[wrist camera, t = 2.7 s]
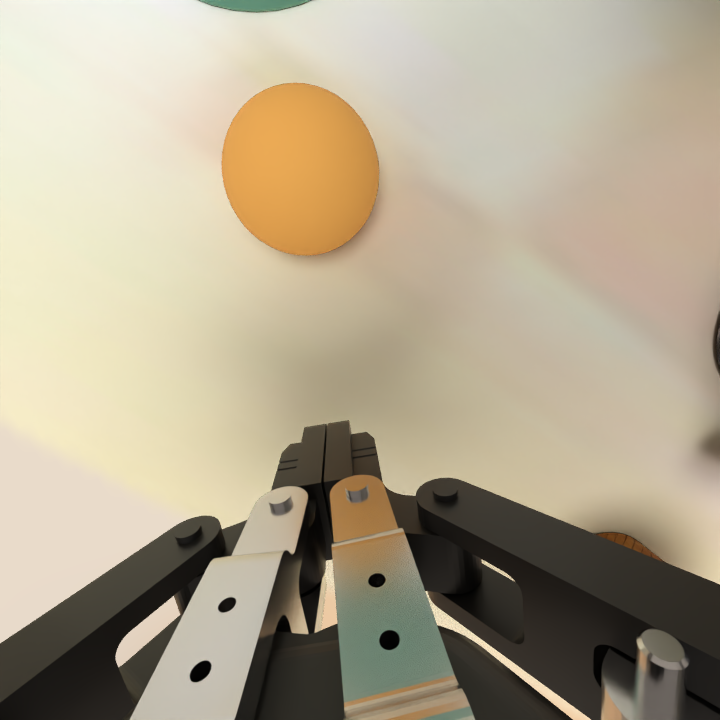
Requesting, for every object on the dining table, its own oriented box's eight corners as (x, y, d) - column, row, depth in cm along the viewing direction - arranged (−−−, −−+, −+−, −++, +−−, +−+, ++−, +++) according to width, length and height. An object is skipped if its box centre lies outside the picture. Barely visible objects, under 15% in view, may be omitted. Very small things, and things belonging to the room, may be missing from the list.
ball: (362, 106, 17) (372, 32, 12) (381, 244, 19) (398, 241, 13) (230, 127, 17) (173, 64, 12) (260, 264, 19) (223, 268, 13)
